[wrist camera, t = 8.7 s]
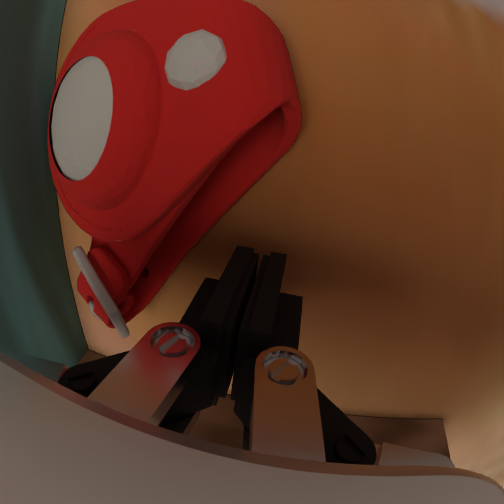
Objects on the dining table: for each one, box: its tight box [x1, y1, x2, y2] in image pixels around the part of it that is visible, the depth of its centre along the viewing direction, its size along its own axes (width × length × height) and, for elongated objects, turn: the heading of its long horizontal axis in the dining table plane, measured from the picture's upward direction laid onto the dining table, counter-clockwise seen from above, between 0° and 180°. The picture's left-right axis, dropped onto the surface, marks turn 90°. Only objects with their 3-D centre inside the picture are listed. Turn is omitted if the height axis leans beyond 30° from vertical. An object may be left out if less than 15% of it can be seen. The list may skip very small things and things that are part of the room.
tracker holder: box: [47, 0, 302, 338], centre depth 9 cm, size 12×4×10 cm
